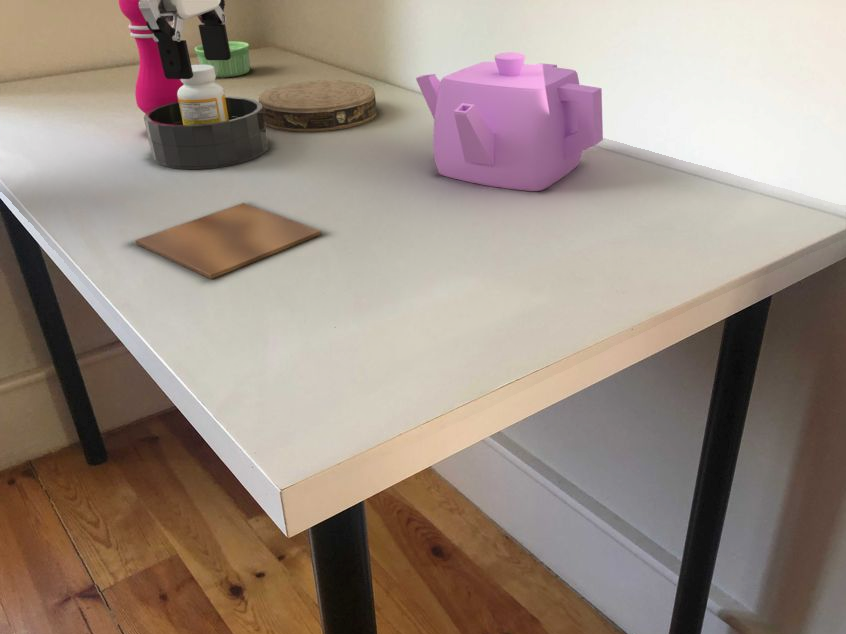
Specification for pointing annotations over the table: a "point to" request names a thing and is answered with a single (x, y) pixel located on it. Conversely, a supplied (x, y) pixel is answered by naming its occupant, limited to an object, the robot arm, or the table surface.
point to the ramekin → (230, 67)
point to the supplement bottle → (202, 98)
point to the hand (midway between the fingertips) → (199, 68)
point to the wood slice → (318, 105)
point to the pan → (207, 136)
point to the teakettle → (511, 122)
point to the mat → (227, 239)
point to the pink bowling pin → (148, 63)
